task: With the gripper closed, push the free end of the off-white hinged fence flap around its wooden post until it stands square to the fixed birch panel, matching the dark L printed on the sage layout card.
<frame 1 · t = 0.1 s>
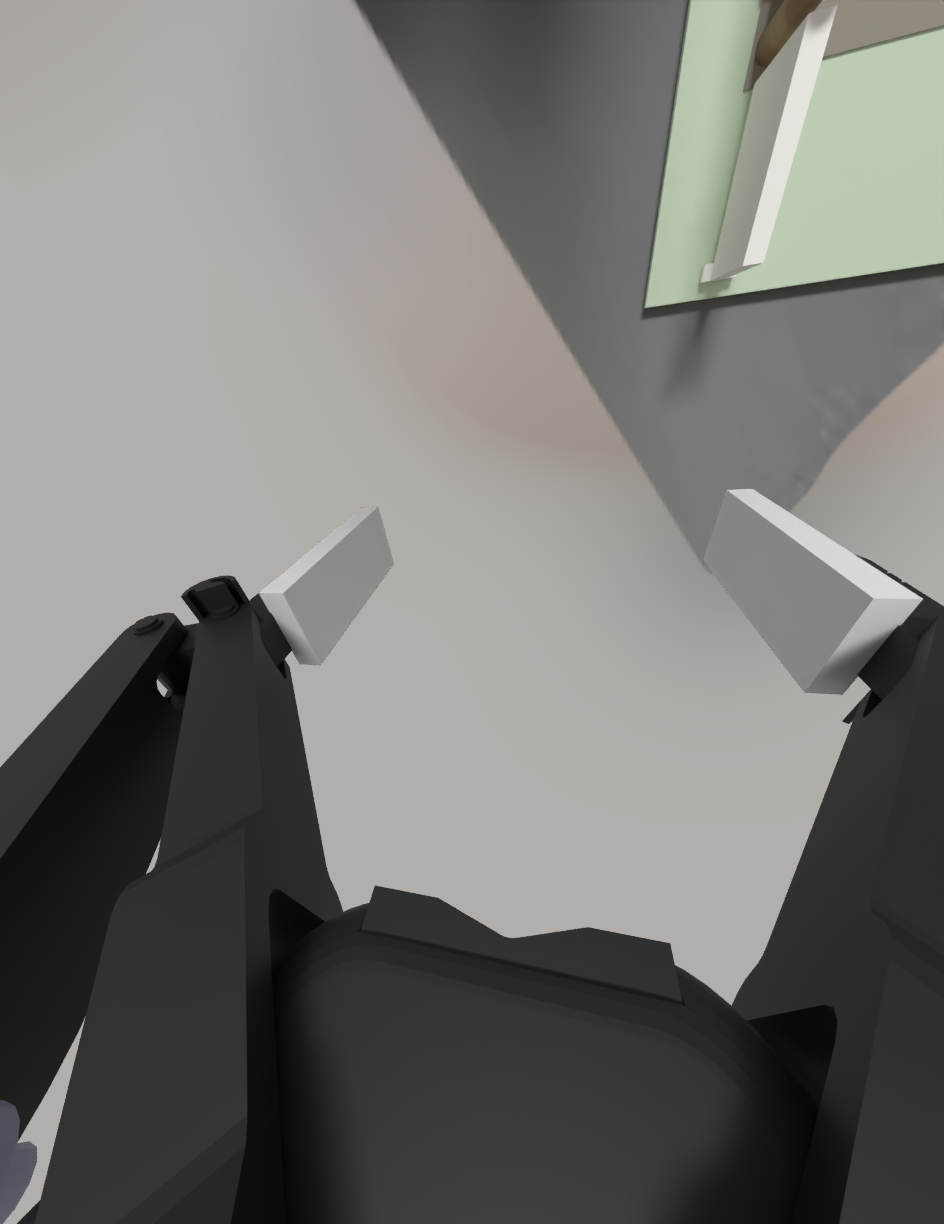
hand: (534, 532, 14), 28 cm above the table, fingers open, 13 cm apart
fence flap: (757, 176, 22), point 4 cm above the table, hinge at 0.0°
fence fixed: (765, 51, 21), resting on layout card
layout card: (887, 4, 20), on the table
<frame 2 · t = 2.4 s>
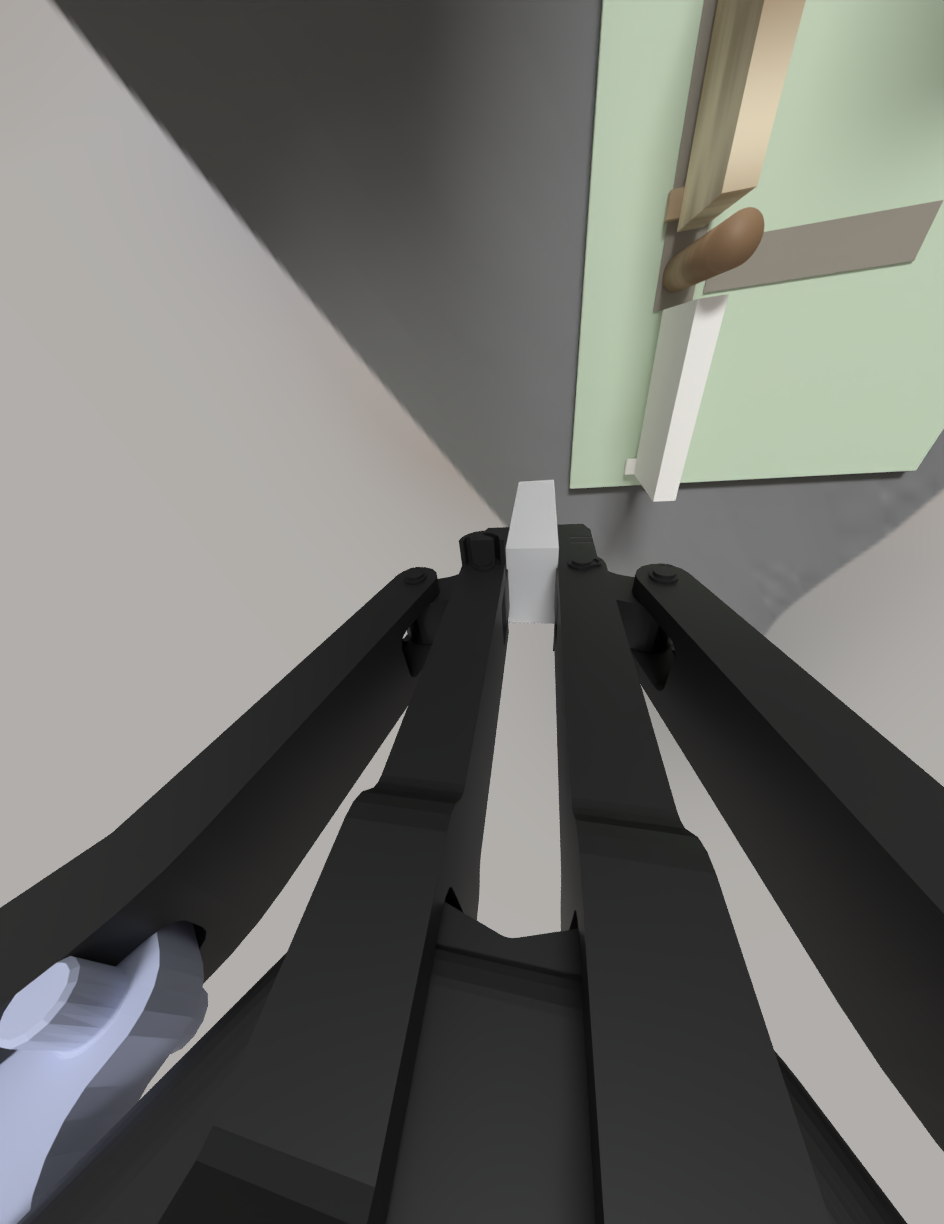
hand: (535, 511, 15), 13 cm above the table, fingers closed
fence flap: (668, 406, 20), point 4 cm above the table, hinge at 0.0°
fence fixed: (674, 274, 19), resting on layout card
layout card: (803, 240, 17), on the table
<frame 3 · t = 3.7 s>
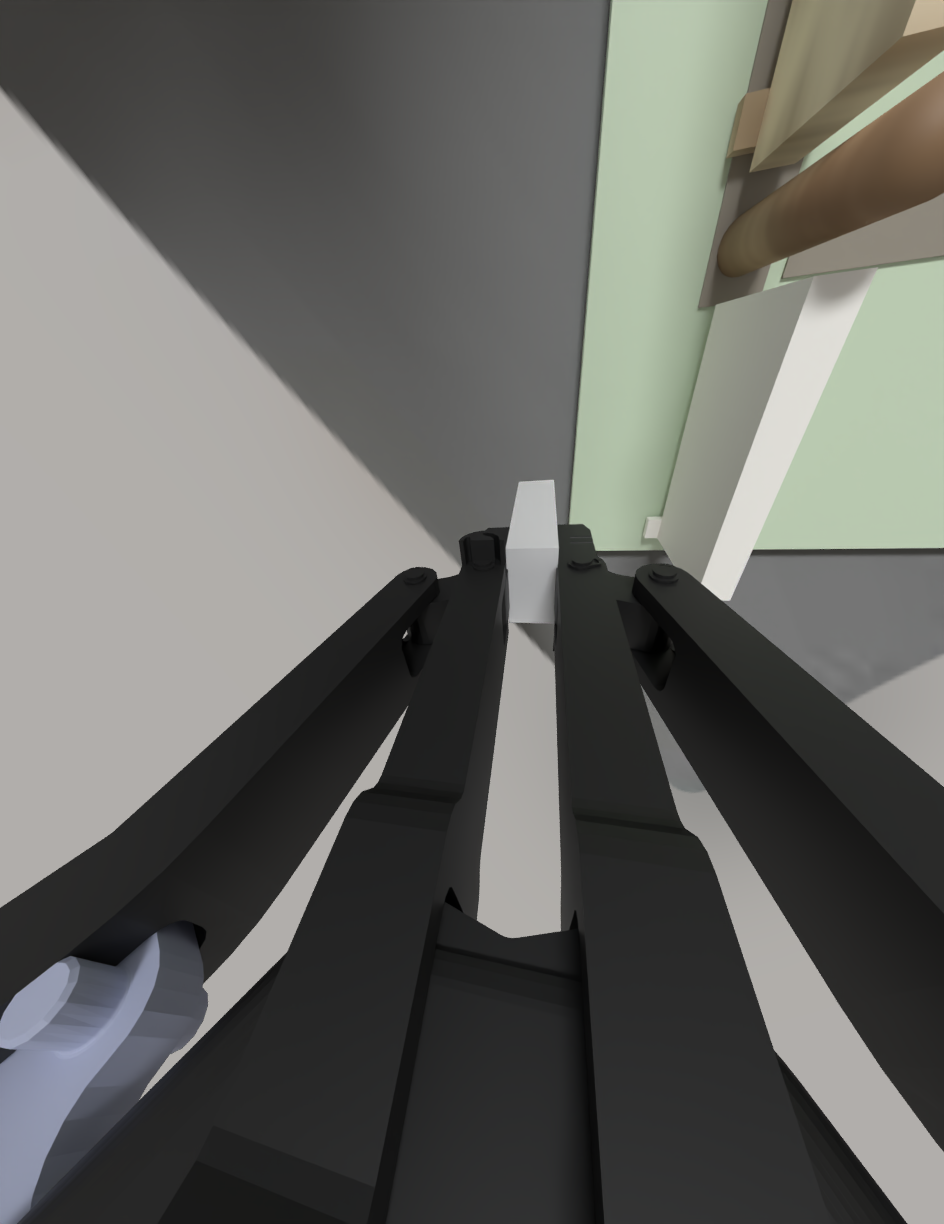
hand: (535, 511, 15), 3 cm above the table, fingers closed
fence flap: (720, 455, 13), point 4 cm above the table, hinge at 0.0°
fence fixed: (735, 249, 12), resting on layout card
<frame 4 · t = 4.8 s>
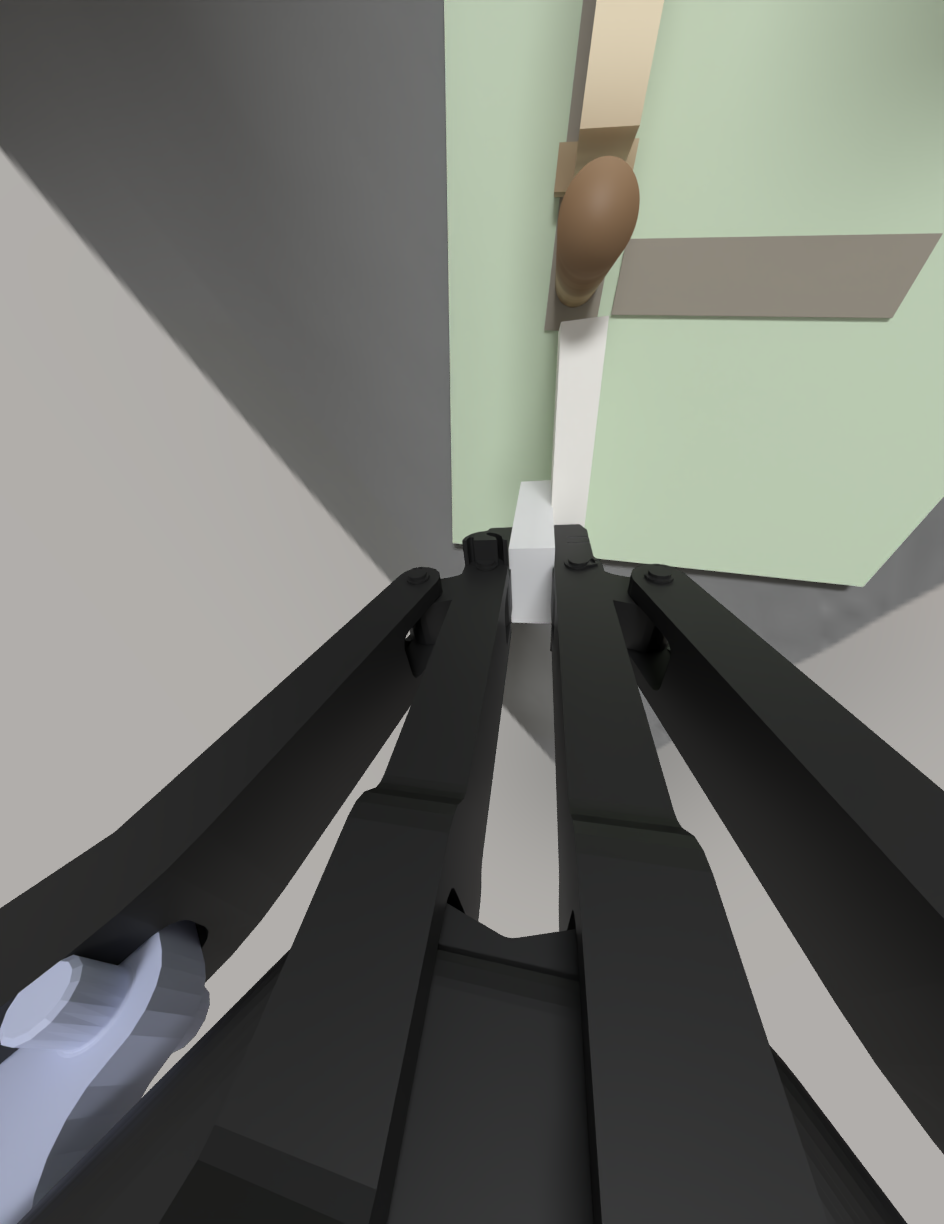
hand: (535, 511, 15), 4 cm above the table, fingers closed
fence flap: (567, 468, 14), point 4 cm above the table, hinge at 6.6°, touching gripper
fence fixed: (576, 281, 13), resting on layout card
layout card: (750, 262, 12), on the table
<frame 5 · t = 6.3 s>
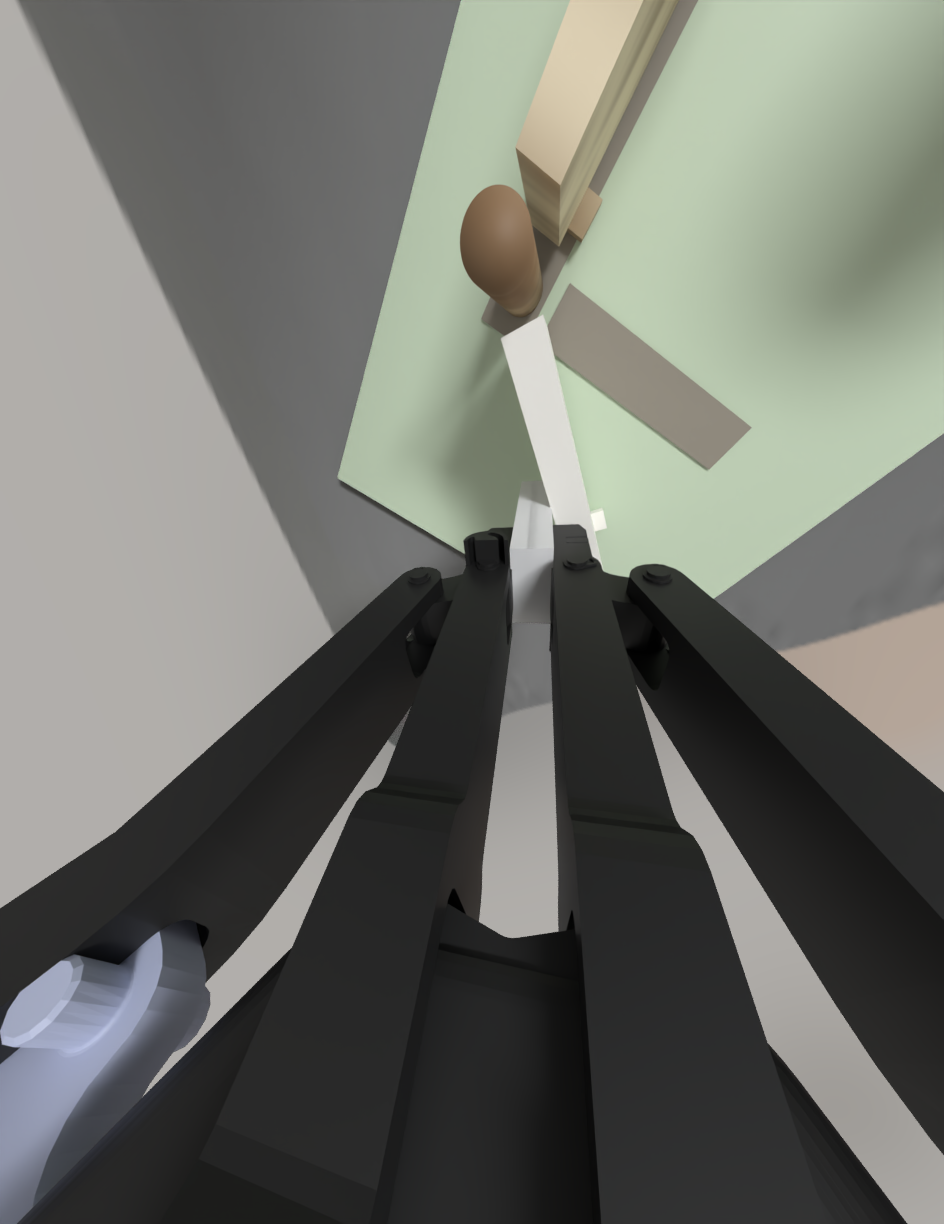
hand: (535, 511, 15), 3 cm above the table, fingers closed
fence flap: (562, 463, 14), point 4 cm above the table, hinge at 52.4°, touching gripper
fence fixed: (523, 292, 14), resting on layout card
layout card: (647, 368, 14), on the table
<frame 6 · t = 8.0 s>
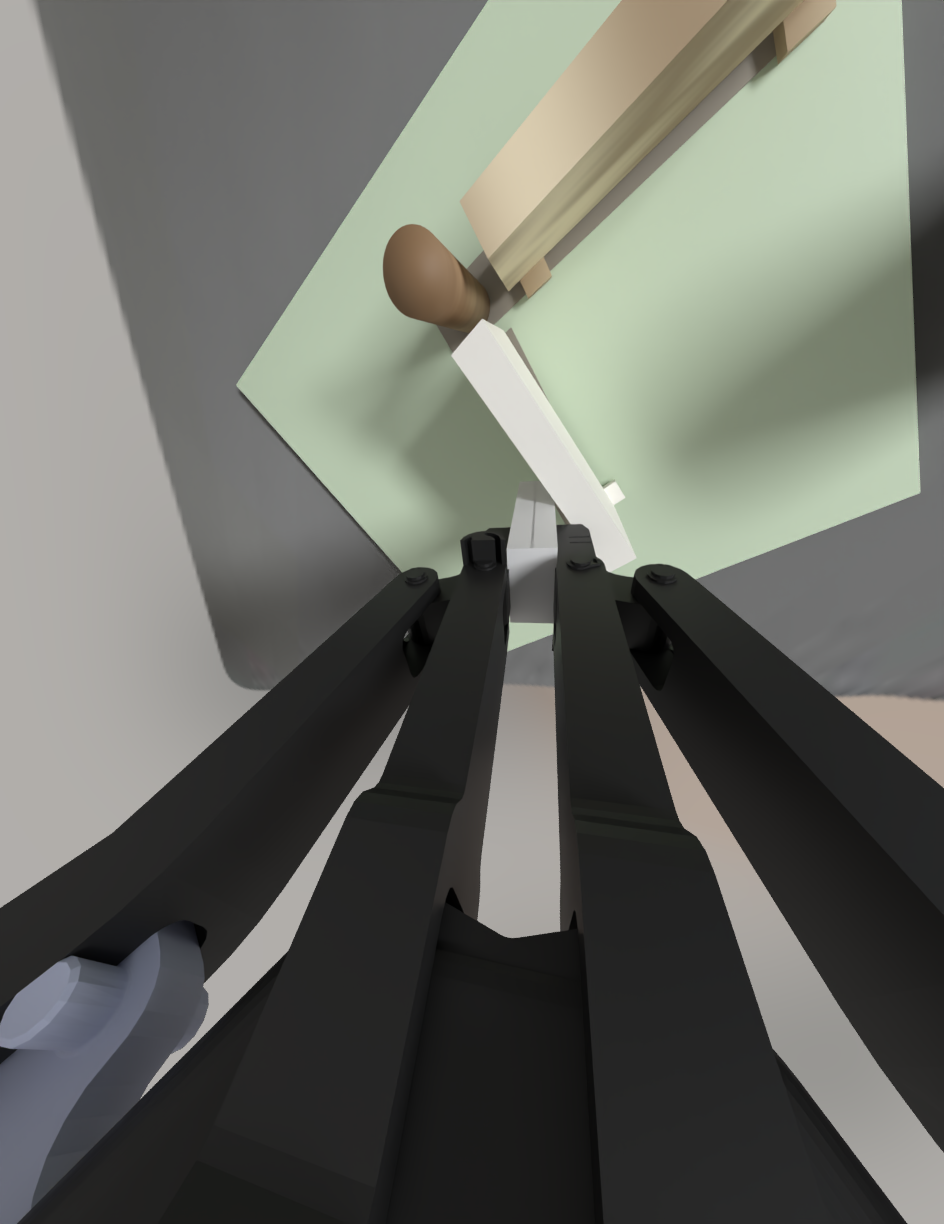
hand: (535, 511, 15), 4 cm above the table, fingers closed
fence flap: (553, 449, 13), point 4 cm above the table, hinge at 95.1°
fence fixed: (473, 309, 14), resting on layout card
layout card: (552, 432, 16), on the table
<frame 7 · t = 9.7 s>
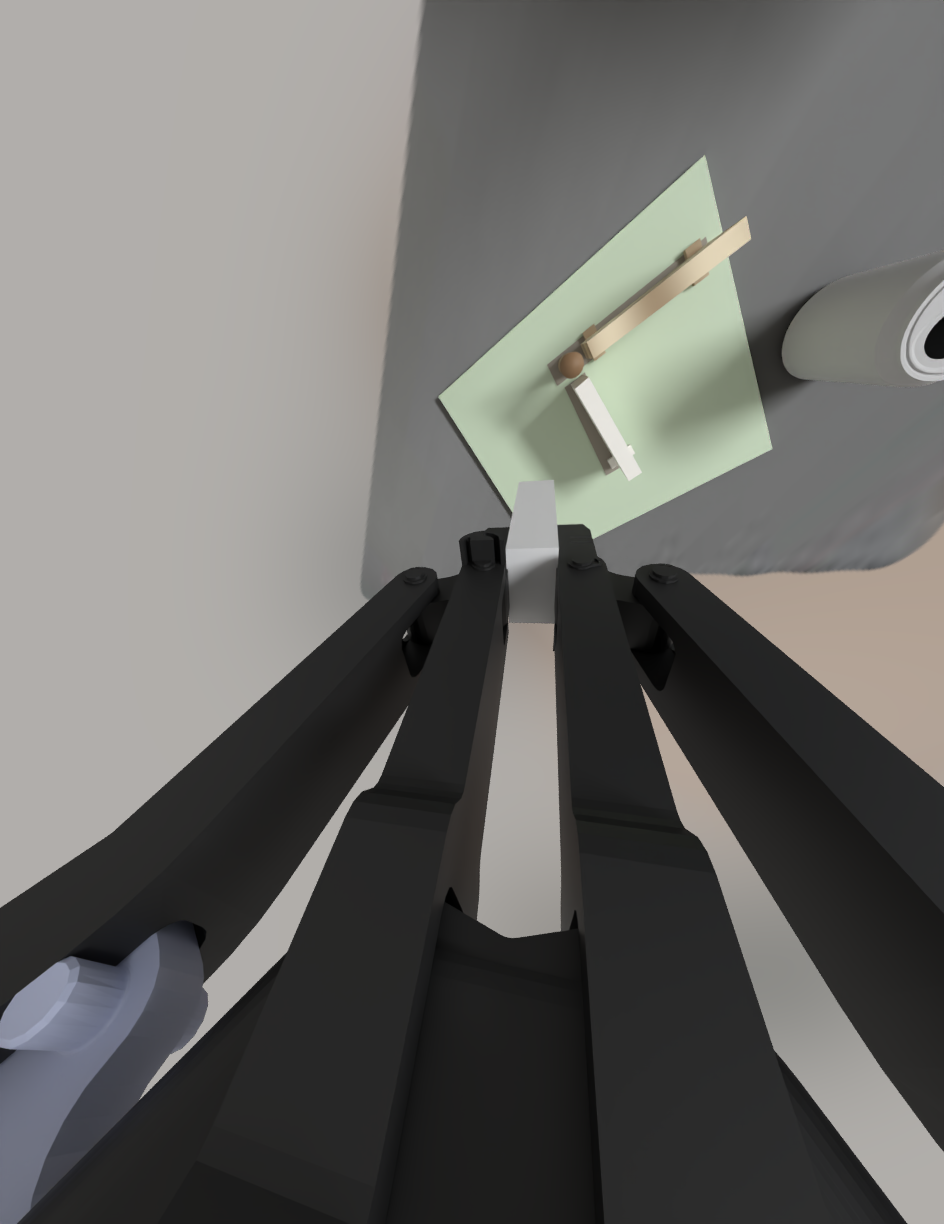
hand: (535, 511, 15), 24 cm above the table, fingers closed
fence flap: (605, 426, 30), point 4 cm above the table, hinge at 95.1°
fence fixed: (566, 363, 31), resting on layout card
layout card: (599, 421, 33), on the table
beverage can: (823, 330, 27), on the table
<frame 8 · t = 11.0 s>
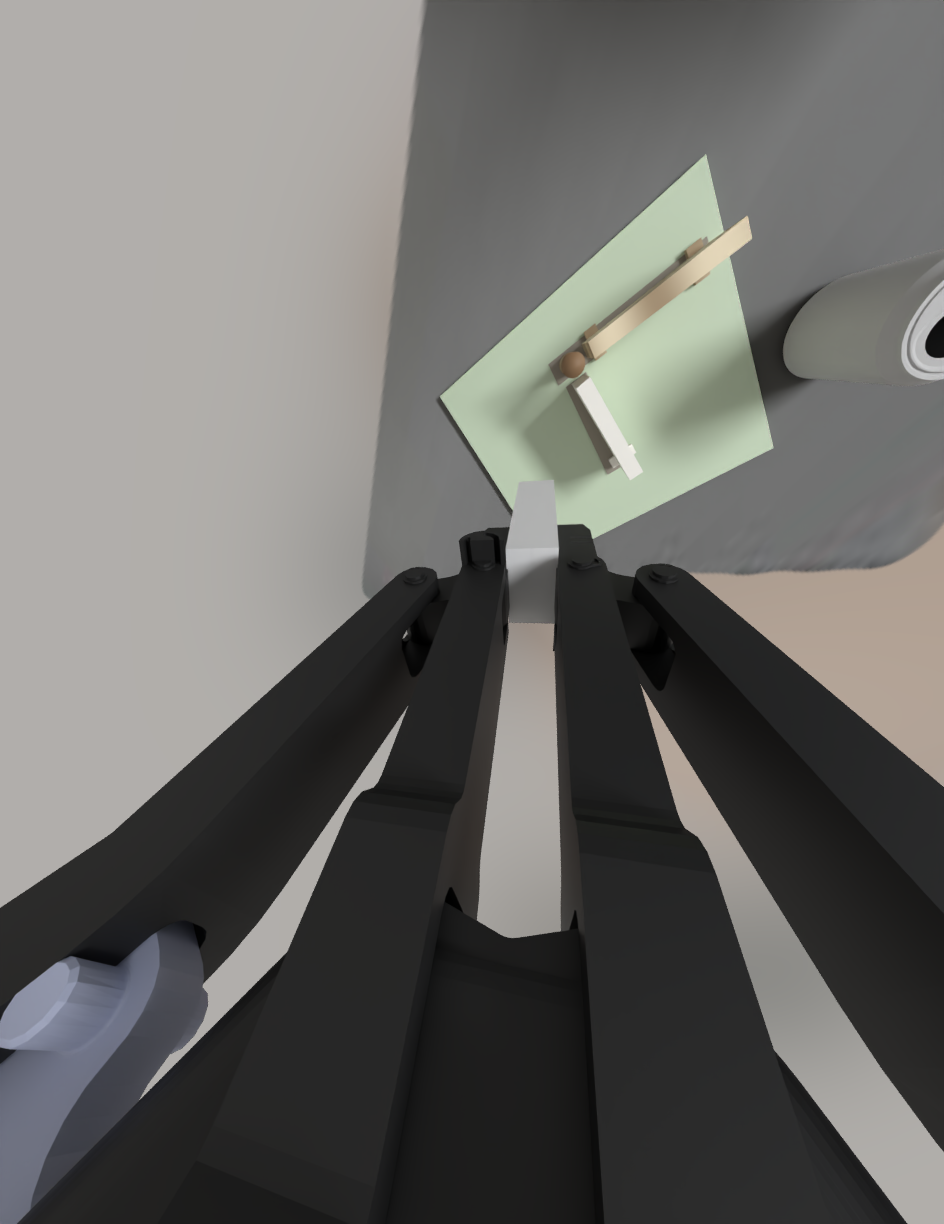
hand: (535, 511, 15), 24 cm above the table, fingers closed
fence flap: (606, 426, 30), point 4 cm above the table, hinge at 95.1°
fence fixed: (567, 363, 31), resting on layout card
layout card: (600, 420, 33), on the table
beverage can: (825, 329, 27), on the table
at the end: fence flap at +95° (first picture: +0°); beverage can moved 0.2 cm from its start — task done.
